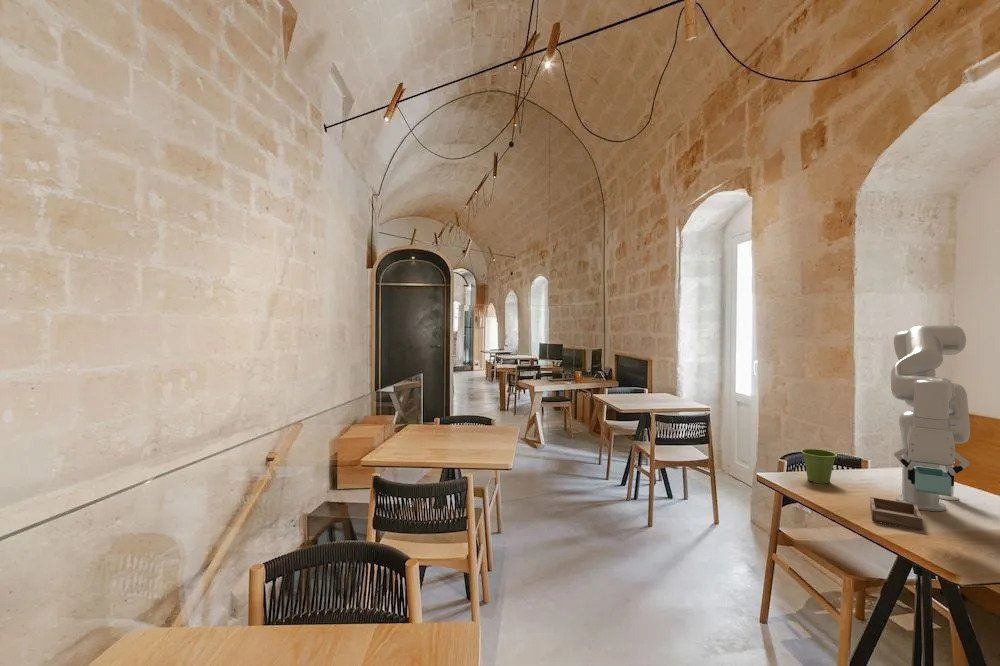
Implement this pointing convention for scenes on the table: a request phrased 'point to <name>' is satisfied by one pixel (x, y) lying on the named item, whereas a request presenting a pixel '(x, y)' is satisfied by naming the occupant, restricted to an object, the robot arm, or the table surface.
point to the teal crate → (932, 481)
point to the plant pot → (818, 464)
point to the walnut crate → (895, 513)
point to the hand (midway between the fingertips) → (930, 484)
